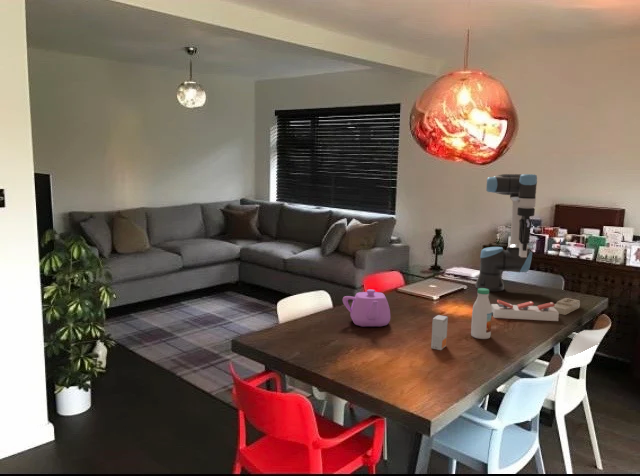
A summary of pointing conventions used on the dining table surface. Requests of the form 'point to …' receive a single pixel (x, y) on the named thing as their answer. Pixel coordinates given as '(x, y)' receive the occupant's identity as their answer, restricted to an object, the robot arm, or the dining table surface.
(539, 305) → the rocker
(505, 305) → the rocker
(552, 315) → the power strip
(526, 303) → the rocker
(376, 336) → the dining table surface
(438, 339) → the skincare box
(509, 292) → the dining table surface
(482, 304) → the milk bottle
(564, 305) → the electrical outlet
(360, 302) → the teapot
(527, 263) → the robot arm
